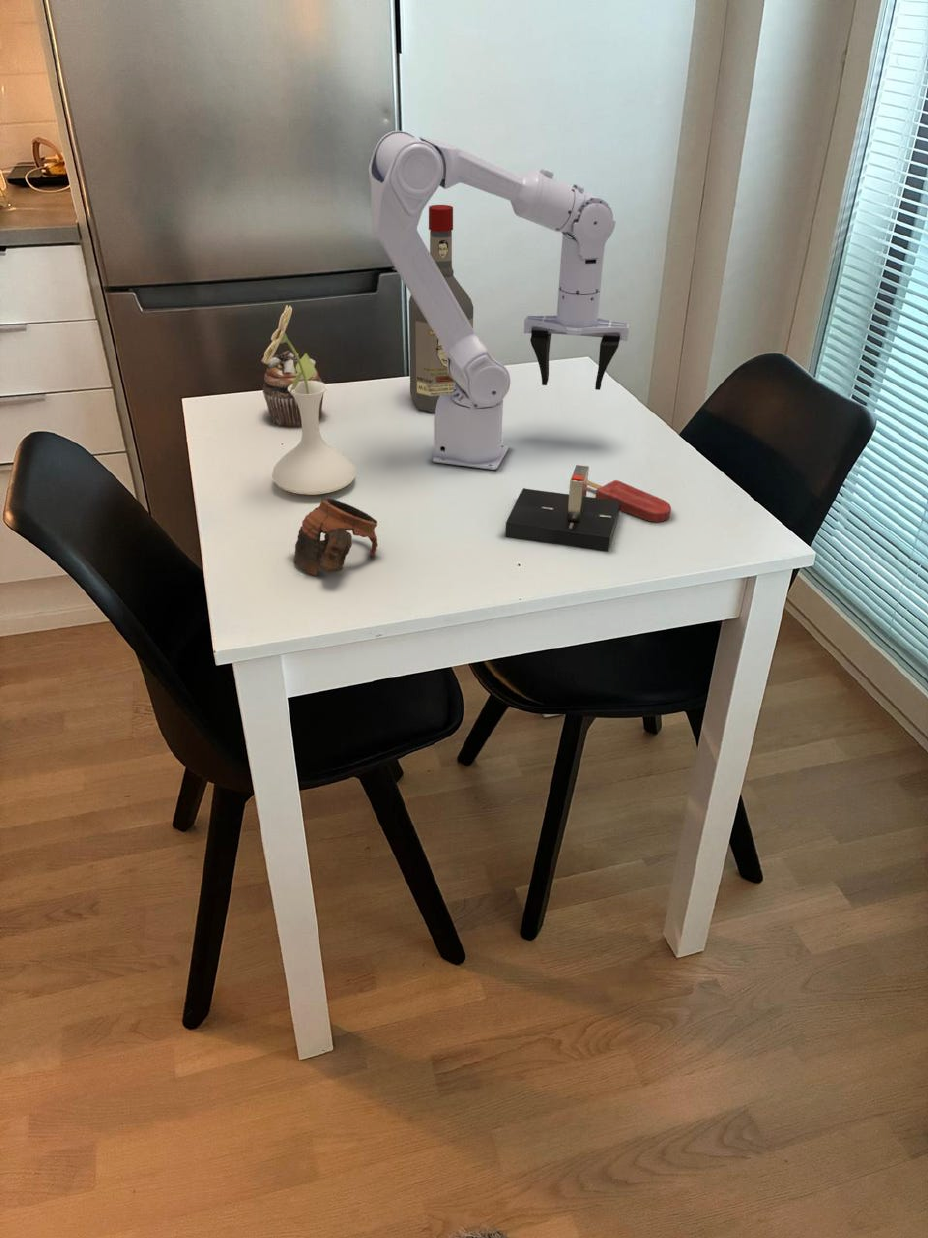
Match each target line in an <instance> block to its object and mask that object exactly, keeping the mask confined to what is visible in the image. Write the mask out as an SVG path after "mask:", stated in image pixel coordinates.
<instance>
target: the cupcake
mask: <svg viewBox="0 0 928 1238" xmlns="http://www.w3.org/2000/svg"><path fill="white" fill-rule="evenodd" d="M304 354H305V353H303V354H300V355H299V353H297V355H298V357H299V359H301V358H302V357H303V356H304ZM307 355H308V357H309V358H310V360H311V362H312V363H313V365H314V367H315V366H316V360H314V358H311V356H310V355H309V354H307ZM297 363H298V361H297V359H296V357H295V355H294V353H293V352H292V350H291V349H290V350H288V351H284V352H282V353H281V354H274V355H273V357H272V358H271V360H270V361H269V363H267V366H268V367H267V368H266V371H265V373H264V375H263V380H264V383H263V384H262V389H261V390H262V394H263V397H264V400H265V403H266V406H267V409H268V413H269V417H270V420H271V422H272V423H274V424H275V425H278V426H281V427H285V428H286V427H287V428H300V427H301V428H302V421H301V415H300V410H299V407H298V404H297V402H296V400H295V398H294V397H293V395H292V394H291V393H290V392H289V391H288V387H289V386H290V385H291V384H292V383H293V381H294V379H295V377H296V376H297V375H298V373H297V371H296V365H297ZM301 381H304V379H302V378H300V380H299V382H301ZM307 381H317V382H321V383H323V380H322V378H321V377H320V376H319V372H318V370H317V369H316V373H315V375H314V376H312V377H311V378H310V379H309V380H307ZM323 400H324V395H323V396H322V398H321V401H320V405H319V421H320V420H321V418H322V409H323Z"/></svg>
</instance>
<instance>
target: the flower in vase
mask: <svg viewBox="0 0 928 1238" xmlns="http://www.w3.org/2000/svg"><path fill="white" fill-rule="evenodd" d="M292 312H293V306H291V305H289V306H288V304H286V305H285V307H284V311H283V313H282V314H281V315H280V317H279V322H278V328H277V329H275V331H274V332H273V333H272V335H271V337H270V340H271V341H272V342H271V343H270V344H269V346H268V347H267V348H266V350H265V351H264V353H263V357H262V359H261V363H263V364H265V365H268V363H269V361H270V360H271V358H272V357H273V355H275V353H276V352H277V350H278V348H279V346H280V344H285V343H286V344H287V345H288V347H289V348H290V350H292V352H293V353H294V355H295V357H296V359H297V361H298V363H297V365H296V371H297V373H298V375H297V376H296V377H295V379H294V381H293V383H292V384H291V385H290V386H289V387H288V391H289V392H290V393H291V394H292V395H293V397H294V398H295V400H296V402H297V404H298V407H299V410H300V415H301V421H302V427H301V439H300V441H299V442H298V444H297V445H296V446H294V447H293V448H292V449H290V450H289V451H288V452H287V453H285V455H283V456H282V457H281V458H280V459H279V460H278V461H277V462H276V464H275V465H274V466H273V470H272V473H271V478H272V480H273V482H274V483H275V484H276V485H277V487H279V488H281V489H282V490H284V491H286V492H289V493H293V494H299V495H312V496H313V495H323V494H329V493H333V492H337V491H340V490H342V489H344V488H345V487H347V486H349V485H350V484H351V483H352V482H353V480H354V479H355V477H356V475H357V469H356V466H355V464H354V462H353V461H352V460H351V459H350V458H349V457H348V456H347V455H346V454H344V453H343V452H341V451H340V450H338V449H336V448H335V447H333V446H331V445H330V444H329V443H326V441H325V440H324V439H323V438H322V435H321V431H320V420H319V405H320V401H321V398H322V396H323V397H324V394H325V392H326V391H327V388H328V386H327V384H326V383H324V382H322V383H321V382H317V381H307V380H309V379H310V378H311V377H312V376H314V375H315V373H316V370H317V369H316V367H315V366H314V365H313V363H312V362H311V360H310V359H311V357H310V358H309V357H308V355H309V354H308V353H307V352H306V353H303V354H304V356H303V357H302V358H301V359H299V357H298V355H299V354H298V352H297V351H296V349H295V348H294V346H293V344H292V343H291V341H290V340H289V339H288V335H287V333H286V330H287V328H288V325H289V322H290V320H291V316H292ZM297 354H298V355H297ZM300 378H302V379H304V381H301V382H299V380H300Z"/></svg>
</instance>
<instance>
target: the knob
mask: <svg viewBox="0 0 928 1238" xmlns="http://www.w3.org/2000/svg"><path fill="white" fill-rule="evenodd" d="M589 470H590V466H587V465H578V464H576V466H575V468H574V471H573V473H572V475H571V478H570V480H569V492H568V494H569V501H568V513H567V520H572V521H580V518H581V516H582V513H583V510H584V507H585V502H586V497H587V491H588V485H587V482H588V481H589Z"/></svg>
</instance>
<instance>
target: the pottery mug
mask: <svg viewBox="0 0 928 1238" xmlns="http://www.w3.org/2000/svg"><path fill="white" fill-rule="evenodd" d="M301 523H302V524H301V526H300V527H299V530H298V534H297V540H296V542H295V544H294V555H293V561H294V562H295V564H296V565H297V566H298V567H300V569H301V570H303V571H305V572H306V573H309V574H311V575H313V576H318V575H319V569H320V566H321V568H323V569H324V570H325V571H326V572H328V573H336V572H340V571H342V570H343V566H344V565H345V560H346V557H347V555H349V552H350V549H351V548H352V546H353V540H352V537H353V536H359V537H362V538H366V537H367V538H368V539H369V540H370V542H371V549H370V553H369V554H370V556H371V557H375V556H376V552H377V548H378V538H377V534H376V528H377V526H378V520H376V518H373V517H372V516H371V515H369V514H368V513H367V512H364V510H363V511H362V510H360V509H359V508H357V507H355V506H352V505H350V504H348V503H345V502H343V501H340V500H337V499H333V498H330V497H329V498H328V497H326V498H325V497H324V498H322V499H321V500H320V503H319V505H318V506H317V507H315V508H314V509H313V510H311V511H310V512H309V513H308V514H306V515H305V516H304V519H302V521H301ZM349 531H351V532H352V534H351V532H349ZM321 533H322V534H324V537H323V538H324V539H322V540H321V537H322V536H321ZM352 535H353V536H352Z"/></svg>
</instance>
